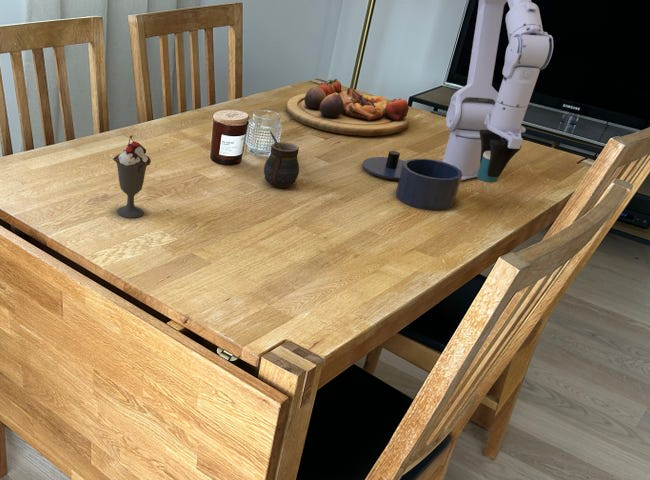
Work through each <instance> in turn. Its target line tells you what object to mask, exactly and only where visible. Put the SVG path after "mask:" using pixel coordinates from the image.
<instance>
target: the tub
mask: <svg viewBox="0 0 650 480" xmlns="http://www.w3.org/2000/svg"><path fill="white" fill-rule="evenodd" d="M490 154H491V151H485V152H484V154H483V158H482V162H481V165H480V168H479V171H478V174H477V177H476V179H478V180H479V181H482V182H486V183H497V182H498V180H499V177H489V176H488V175H487V174H488V166H489V161H490Z"/></svg>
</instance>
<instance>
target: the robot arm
mask: <svg viewBox="0 0 650 480" xmlns="http://www.w3.org/2000/svg"><path fill="white" fill-rule="evenodd" d="M506 3H507V5H508V7H509V10H508V12H507V13H506V14H505V26H506V31H507V37H508V38H507V39H508V45H507V47H506V49H505V55H504V65H503V68H502V75H503V78H502V82H501V84H500V87H499V90H498V91H497V90H496V89H495V88H494V87H493V78H494V74H495V73H494V71H495V65H496V59H497V54H498V53H497V52H498V46H499V40H500V33H501V27H502V21H503V15H504V8H505V5H506ZM553 51H554V38H553V36H552V35H551V34H548V32H547V31H544V29H543V24H542V18H541V13H540V8H539V5H537V4H536V3H534V2H532V0H478V7H477V14H476V22H475V28H474V34H473V40H472V48H471V54H470V61H469V62H470V63H469V69H468V74H467V81H466V85H465V86H463V87H461V88H460V89H458V90H456V91H455V92H454V93H453V95H451V97H450V102H449V105H448V109H447V112H446V116H445V123H446V127H447V129H448V130H449V131H450V133H449V136H448V140H447V143H446V147H445V150H444V154H443V156H442V157H443V158H442V160H441V161H442V162H445V163H448V164H451V165H453V166H455V167H457V168H458V169H459V170H461V172H462V178H461V181H460V182H462V181H465V180H469V179H473V178H477V174H478V171H479V168H480V165H481V162H482V158H483V154H484V152H485V151H491V154H490V161H489V166H488V174H487V175H488V176H489V177H498V178H499V177H500V176H501V174H502V173H503V172H504V169H505V168H506V166H507V165H508V164H509V162H510V161H511V159H513V157H514V156H515V155H516V154H517V153H518V152H520V151H521V149H522V143H523V140H524V139H523V138H522V133H526V130H527V128H525V126H524V125H522V124H523V121H524V119H525V115H526V112H527V109H528V107H529V103H530V101H531V97H532V94H533V92H534V89H535V86H536V83H537V80H538V77H539V74H540V71H541V70H544V69H546V68H547V66H548V65H549V63H550V60H551V58H552V56H553Z"/></svg>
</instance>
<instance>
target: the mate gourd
mask: <svg viewBox="0 0 650 480" xmlns="http://www.w3.org/2000/svg"><path fill="white" fill-rule="evenodd" d="M269 133H270V136H271V138H272V140H273V141H274V143H272V144H271V147H270V154H269V155H268V158H267V159H266V161H265V163H264V166H263V175H264V180H265V181H266V182H267V184H268V185H270V186H271V187H273V188H277V189H286V188H290V187H291V186H293V185H294V184H295V183H296V181H297V179H298V176H299V173H300V164H299V161H298V156H299V150H300V148H299V146H298V145H297V144H295V143H291V142H287V141H286V142H285V141H278V140H277V139H276V136H275V135H274V134H273V131H269Z"/></svg>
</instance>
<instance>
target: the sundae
mask: <svg viewBox="0 0 650 480" xmlns="http://www.w3.org/2000/svg"><path fill="white" fill-rule="evenodd" d="M131 141H132V142H131ZM146 153H147V149H146V148H145V147H144V146H143V145H142V144H141V143H139V142H137V141H134V139H133V135H132V134H131V135H130V136H129V140H128V143H127V144H126V146H125V147H124V149H123V150H122V152H121V153H120V152H119V153H118V154H117V155H115V156H114V157H112V158H113V159H112V160H113V161H114V163H116V168H117V174H118V183H119V188H120V190H121V191H122V192H123V193H124V194H125V195H126V197H127V198H126V199H127V201H126V204H125V206H121V207H118V208H117V210H116V214H117V215H118V216H120V217H123V218H126V219H127V218H128V219H136V218H140V217H142V216H143V215H144V214H145V212H144V210H143V209H142V208H141V207H137V206H135V196H136V195H137V194H139V193H140V191H142V190H143V185H144V182H145V181H144V180H145V176H146V170H147V167H148V166H150V165H151V163H152V161H151V157H149V156H148V155H146Z"/></svg>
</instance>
